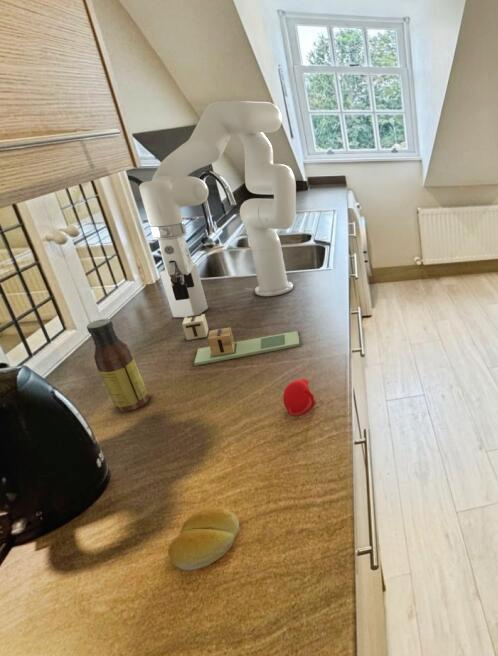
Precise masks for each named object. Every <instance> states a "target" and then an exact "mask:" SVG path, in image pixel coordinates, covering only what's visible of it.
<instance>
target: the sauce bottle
mask: <svg viewBox="0 0 498 656" xmlns="http://www.w3.org/2000/svg"><path fill="white" fill-rule="evenodd" d="M86 329H87V333H89V334H90V336H91V338H92V341H93V344H94V354H93V359H94V361H95V365H96V368H97V371H98V373H99V375H100V378H101V379H102V382H103V384H104V387H105V389H106V390H107V393H108V395H109V397H110V399H111V401H112V404H113V406H114V407H115V408H116V410H117V411H119V412H131V411H132V412H133V411H134V410H137V409H140V408H141V407H143V406H145V405H146V404H147V403H148V402H149V400H150V397H149V394H148V390H147V387H146V385H145V382H144V380H143V378H142V376H141V373H140V371H139V368H138V365H137V363H136V361H135V358H134V356H133V355H132V352H131V349H129V346H128V344H126V343H125V342H124V341H122V340H120V339H119V337H118V335H117V334H116V331H115V330H114V324H113V322H112V320H111V319H110V318H103V319H102V318H101V319H97V320H94V321H93V320H92V322H89V323H88V324H87V325H86Z"/></svg>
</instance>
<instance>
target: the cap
mask: <svg viewBox="0 0 498 656" xmlns="http://www.w3.org/2000/svg"><path fill="white" fill-rule="evenodd" d="M310 390H311V389H310V386H309V380H308V379H306V378H300V379H296V380H293V381H291V382H290V383H288V384H287V386H286V387H285V389H284V391H283V395H282V396H283V397H282V400H283V405H284V407H285V409H286V411H287V414H288V415H290V416H292V417H300V416H303V415H306V414H308V413H309V412H310V411H312V409H313V408H314V406H315V405H316V403H317V402H316V400H315V396H314V394H313V393H312V392H311V391H310Z"/></svg>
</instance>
